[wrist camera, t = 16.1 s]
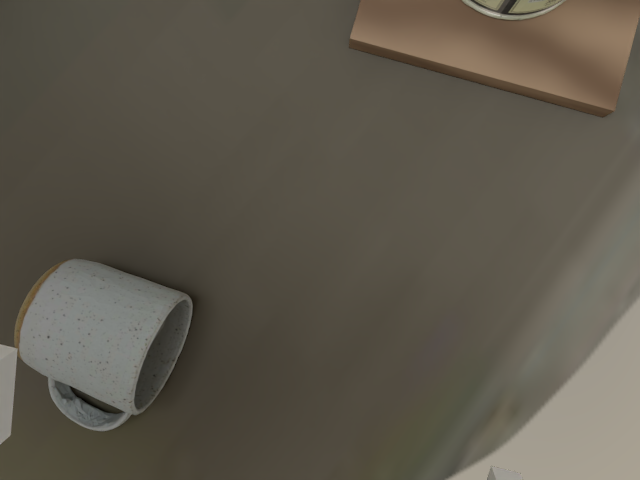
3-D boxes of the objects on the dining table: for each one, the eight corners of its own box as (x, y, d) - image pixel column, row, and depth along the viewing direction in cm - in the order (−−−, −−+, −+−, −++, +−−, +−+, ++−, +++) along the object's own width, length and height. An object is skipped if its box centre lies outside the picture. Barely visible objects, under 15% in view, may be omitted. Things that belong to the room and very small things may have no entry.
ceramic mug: (90, 251, 37) (28, 250, 29) (203, 291, 37) (170, 300, 29) (38, 399, 37) (-40, 437, 29) (151, 440, 36) (103, 490, 29)
